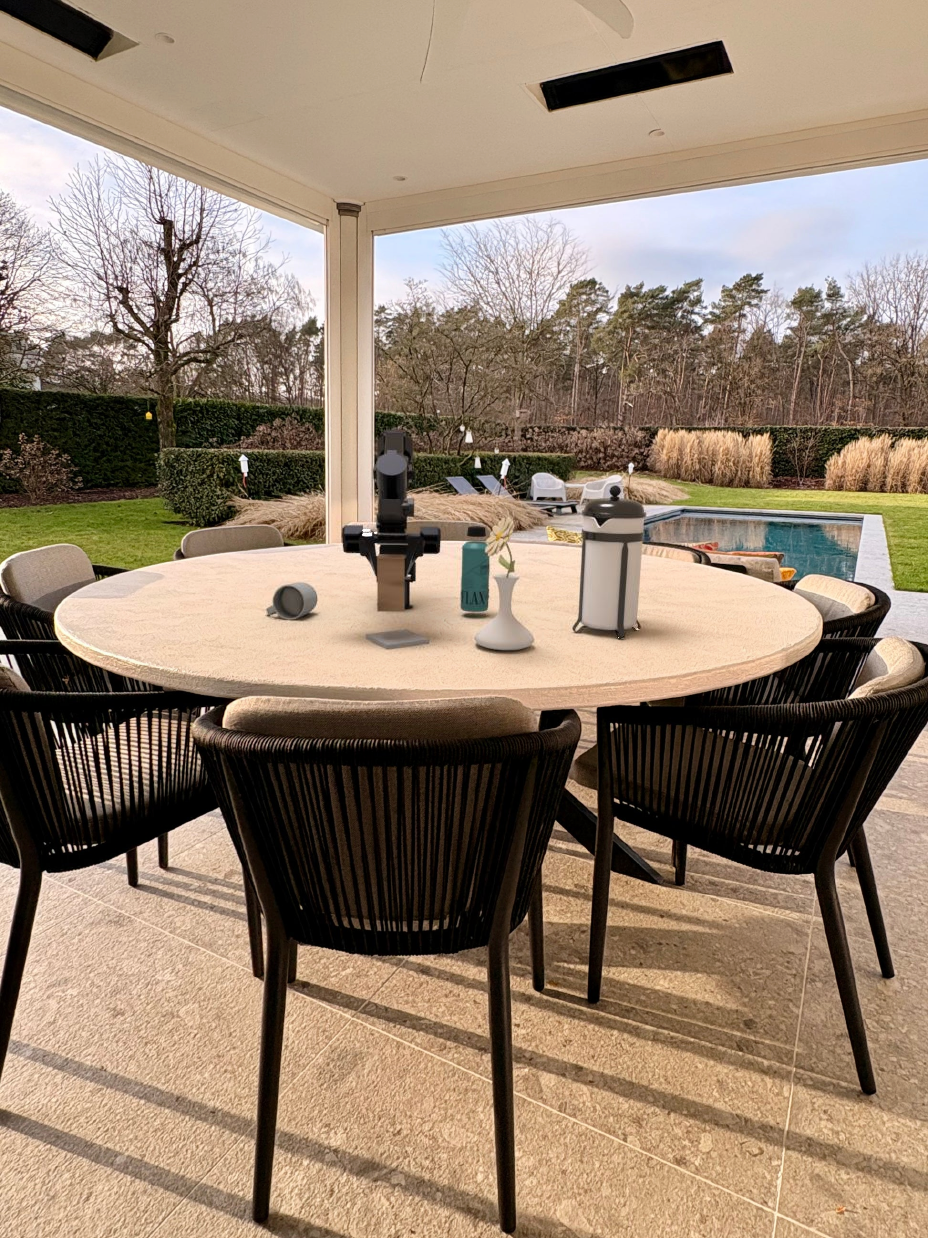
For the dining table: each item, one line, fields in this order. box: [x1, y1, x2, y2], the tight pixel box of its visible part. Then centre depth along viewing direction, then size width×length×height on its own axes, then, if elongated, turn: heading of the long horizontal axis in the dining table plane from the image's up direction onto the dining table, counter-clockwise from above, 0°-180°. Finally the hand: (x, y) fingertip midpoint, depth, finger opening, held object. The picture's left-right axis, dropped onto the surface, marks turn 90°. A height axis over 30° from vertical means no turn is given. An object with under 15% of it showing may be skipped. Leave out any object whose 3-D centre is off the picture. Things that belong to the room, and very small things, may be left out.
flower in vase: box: [473, 516, 535, 651], centre depth 144 cm, size 13×11×25 cm
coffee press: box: [572, 485, 647, 640], centre depth 160 cm, size 17×16×30 cm
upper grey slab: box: [365, 628, 430, 650], centre depth 150 cm, size 9×9×1 cm
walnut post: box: [376, 553, 405, 612], centre depth 147 cm, size 5×5×10 cm
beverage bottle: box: [459, 525, 491, 613], centre depth 172 cm, size 6×7×20 cm
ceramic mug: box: [265, 581, 318, 621], centre depth 170 cm, size 11×8×8 cm
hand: (391, 575), depth 145 cm, fingers closed on walnut post, 5 cm apart
